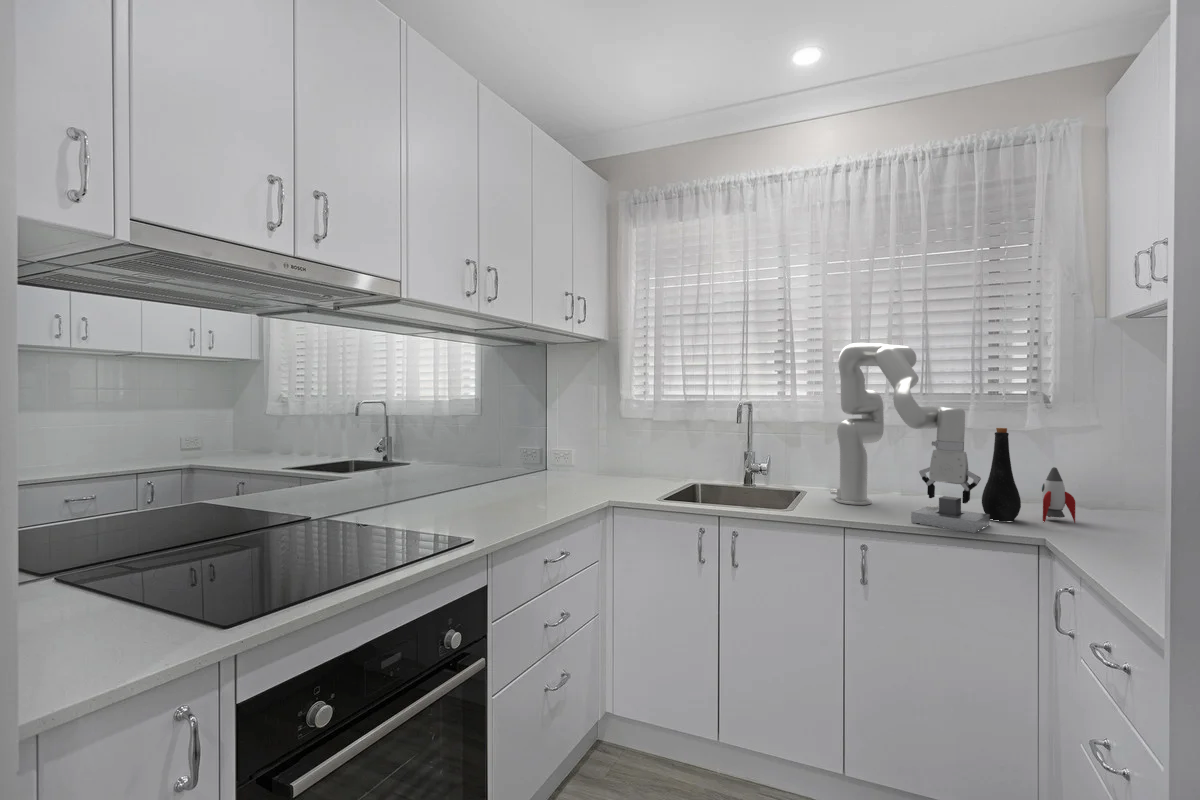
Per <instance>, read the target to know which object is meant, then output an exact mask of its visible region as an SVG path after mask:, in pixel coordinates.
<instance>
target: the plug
mask: <svg viewBox="0 0 1200 800" xmlns="http://www.w3.org/2000/svg"><path fill="white" fill-rule="evenodd" d="M938 506H939V514H946V515H953V516H960V515H961V511H962V498H961V497H954V496H946V495H943V496H940V497H938Z"/></svg>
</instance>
